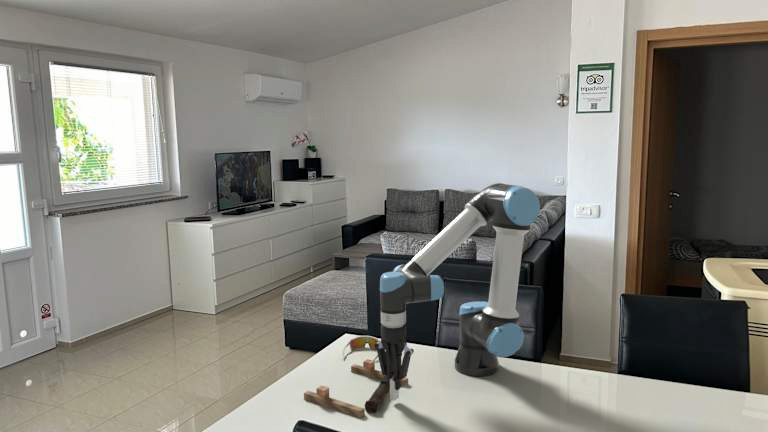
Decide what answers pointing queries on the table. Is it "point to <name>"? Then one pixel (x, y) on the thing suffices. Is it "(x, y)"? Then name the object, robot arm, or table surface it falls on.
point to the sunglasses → (362, 343)
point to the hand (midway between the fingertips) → (394, 398)
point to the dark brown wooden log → (377, 396)
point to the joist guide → (325, 400)
